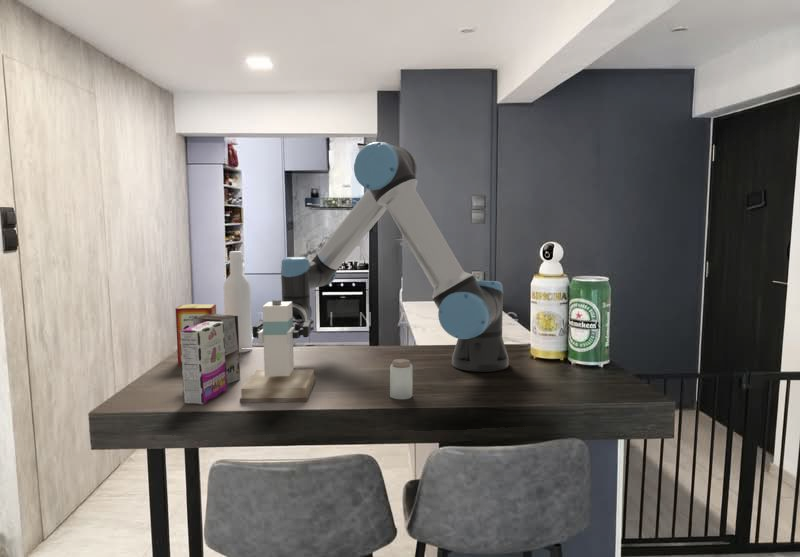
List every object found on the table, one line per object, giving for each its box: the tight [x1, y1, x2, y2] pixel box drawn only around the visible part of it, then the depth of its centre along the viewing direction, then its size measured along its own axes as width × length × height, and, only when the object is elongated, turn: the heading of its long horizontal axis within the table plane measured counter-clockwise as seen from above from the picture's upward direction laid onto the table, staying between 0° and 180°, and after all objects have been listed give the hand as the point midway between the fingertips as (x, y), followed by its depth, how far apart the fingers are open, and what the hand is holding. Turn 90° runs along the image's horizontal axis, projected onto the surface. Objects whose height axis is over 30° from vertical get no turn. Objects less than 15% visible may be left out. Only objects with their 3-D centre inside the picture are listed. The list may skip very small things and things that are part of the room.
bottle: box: [223, 250, 253, 354], centre depth 183 cm, size 8×8×30 cm
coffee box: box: [193, 313, 241, 385], centre depth 150 cm, size 9×6×16 cm
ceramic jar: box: [389, 358, 414, 400], centre depth 136 cm, size 5×5×8 cm
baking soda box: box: [175, 303, 217, 365], centre depth 169 cm, size 10×6×16 cm
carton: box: [262, 299, 295, 376], centre depth 140 cm, size 6×7×17 cm
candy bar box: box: [180, 321, 228, 405], centre depth 136 cm, size 11×5×16 cm, turn 168°
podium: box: [239, 368, 317, 403], centre depth 141 cm, size 15×17×3 cm
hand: (274, 338), depth 134 cm, fingers closed on carton, 6 cm apart
